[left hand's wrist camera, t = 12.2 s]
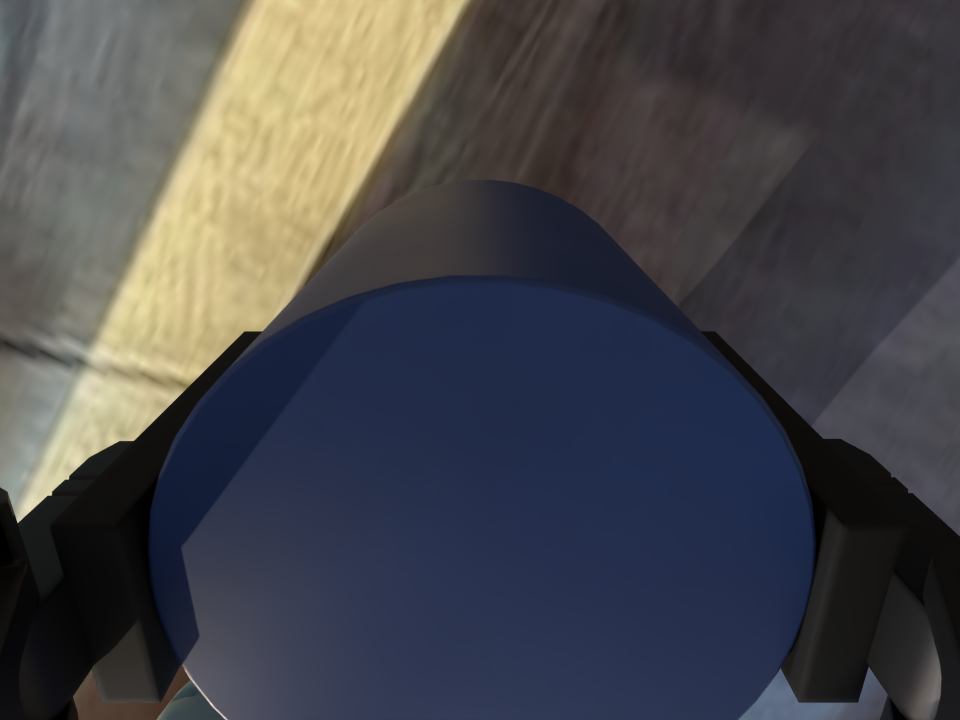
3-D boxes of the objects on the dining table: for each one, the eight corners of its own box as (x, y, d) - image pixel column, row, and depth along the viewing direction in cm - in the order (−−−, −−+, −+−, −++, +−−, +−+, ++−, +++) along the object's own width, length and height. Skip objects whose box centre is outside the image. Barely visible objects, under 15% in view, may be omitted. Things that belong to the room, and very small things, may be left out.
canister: (714, 274, 15) (967, 464, 7) (550, 536, 18) (606, 877, 10) (390, 113, 14) (272, 131, 6) (267, 422, 16) (76, 712, 9)
